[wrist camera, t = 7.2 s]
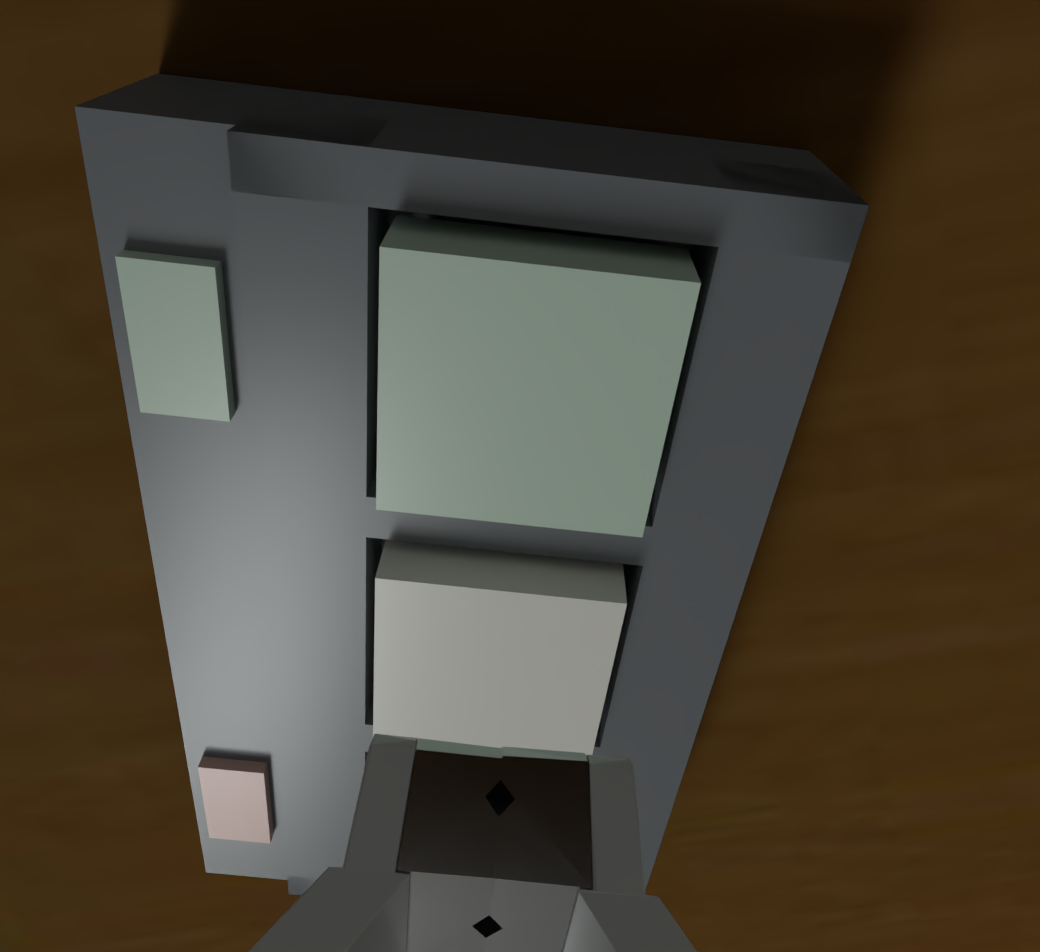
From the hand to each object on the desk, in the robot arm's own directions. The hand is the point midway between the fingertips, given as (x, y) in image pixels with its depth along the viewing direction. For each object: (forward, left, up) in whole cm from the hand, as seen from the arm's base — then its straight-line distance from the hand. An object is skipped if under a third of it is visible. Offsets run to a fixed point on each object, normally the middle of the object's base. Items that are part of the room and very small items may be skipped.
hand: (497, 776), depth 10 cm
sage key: (0, 0, -11) cm, 11 cm away
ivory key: (+8, 0, -11) cm, 14 cm away
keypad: (+8, -2, -14) cm, 17 cm away
